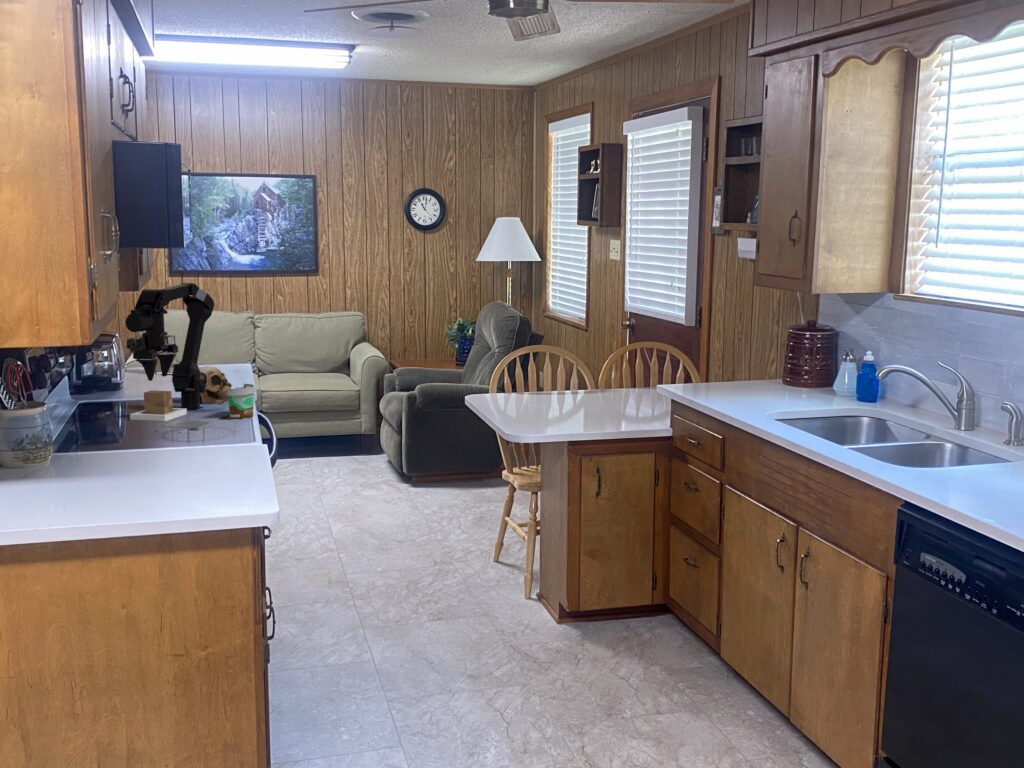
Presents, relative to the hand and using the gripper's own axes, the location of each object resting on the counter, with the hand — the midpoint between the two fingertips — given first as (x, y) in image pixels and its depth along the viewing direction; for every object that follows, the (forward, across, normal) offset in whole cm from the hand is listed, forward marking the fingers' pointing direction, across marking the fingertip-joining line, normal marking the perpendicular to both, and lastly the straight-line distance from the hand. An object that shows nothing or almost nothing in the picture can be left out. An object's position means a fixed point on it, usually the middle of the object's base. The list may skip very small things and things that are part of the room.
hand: (157, 378), depth 311 cm
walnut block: (+12, -1, -1) cm, 12 cm away
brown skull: (+13, -35, +2) cm, 37 cm away
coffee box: (+13, -97, -46) cm, 108 cm away
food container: (+13, -6, +26) cm, 30 cm away
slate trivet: (+13, +11, +14) cm, 22 cm away
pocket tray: (+13, -1, -1) cm, 13 cm away
